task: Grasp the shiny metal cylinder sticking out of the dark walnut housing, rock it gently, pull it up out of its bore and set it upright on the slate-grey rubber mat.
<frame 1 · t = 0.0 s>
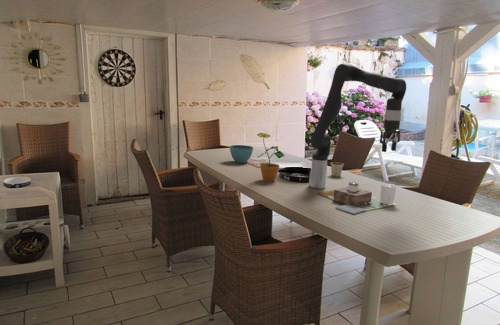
hand: (388, 151, 193), 29 cm above the table, fingers open, 8 cm apart
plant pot: (240, 162, 300), on the table
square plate: (287, 168, 285), on the table
flower pot: (336, 175, 267), on the table
housing: (351, 201, 205), on the table
shiny metal cylinder: (352, 197, 205), point 2 cm above the table, touching housing
mat: (350, 210, 191), on the table
potted plant: (269, 180, 244), on the table
white cup: (386, 203, 205), on the table
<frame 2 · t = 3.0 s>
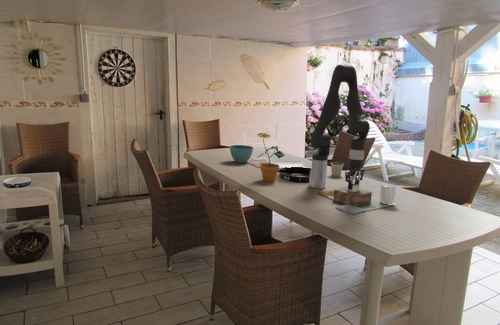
hand: (353, 188, 204), 7 cm above the table, fingers closed on shiny metal cylinder, 5 cm apart
shiny metal cylinder: (352, 197, 205), point 2 cm above the table, touching gripper, housing
everything else where it was.
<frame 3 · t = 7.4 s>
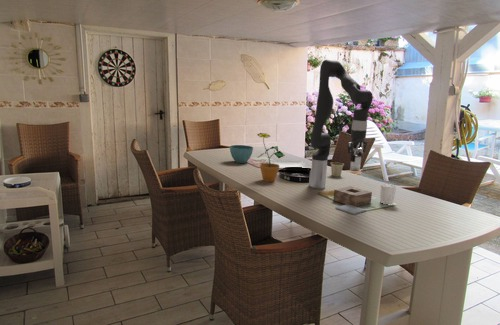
hand: (355, 161, 201), 22 cm above the table, fingers closed on shiny metal cylinder, 5 cm apart
shiny metal cylinder: (354, 170, 202), point 17 cm above the table, touching gripper
everything else where it was.
when the fingers open (7 cm above the table, at t = 11.9 s): shiny metal cylinder drops 1 cm, resting on mat.
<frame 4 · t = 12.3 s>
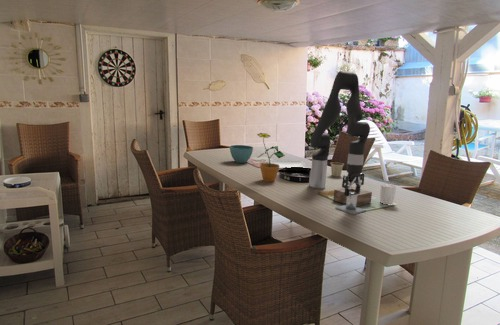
hand: (352, 194, 189), 8 cm above the table, fingers open, 8 cm apart
shiny metal cylinder: (350, 208, 191), point 1 cm above the table, touching mat
everything else where it was.
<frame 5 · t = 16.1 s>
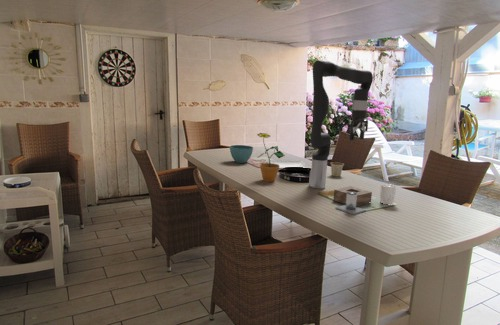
hand: (356, 139, 203), 33 cm above the table, fingers open, 8 cm apart
nothing on the table moved.
at the end: shiny metal cylinder inside the target area on the mat (0.1 cm from its centre), point 0.9 cm above the mat's base; shiny metal cylinder tilted 2°; shiny metal cylinder touching mat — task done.
